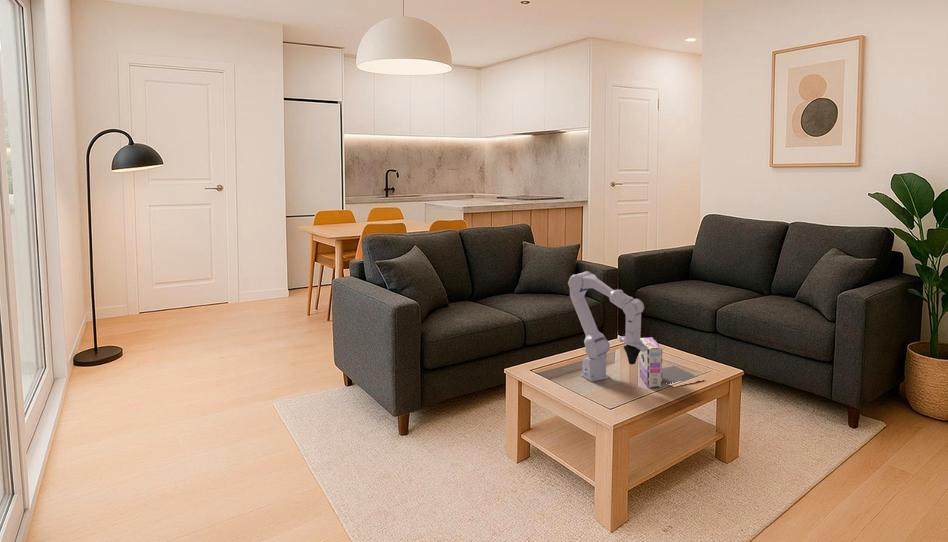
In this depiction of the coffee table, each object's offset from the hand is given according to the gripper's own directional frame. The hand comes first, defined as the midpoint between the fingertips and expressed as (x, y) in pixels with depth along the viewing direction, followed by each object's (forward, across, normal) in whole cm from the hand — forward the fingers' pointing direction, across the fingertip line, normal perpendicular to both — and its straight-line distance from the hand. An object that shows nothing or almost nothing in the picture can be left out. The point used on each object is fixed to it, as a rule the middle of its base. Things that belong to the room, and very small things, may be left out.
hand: (632, 363), depth 238 cm
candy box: (+9, +1, -10) cm, 14 cm away
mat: (+9, +1, -22) cm, 24 cm away
